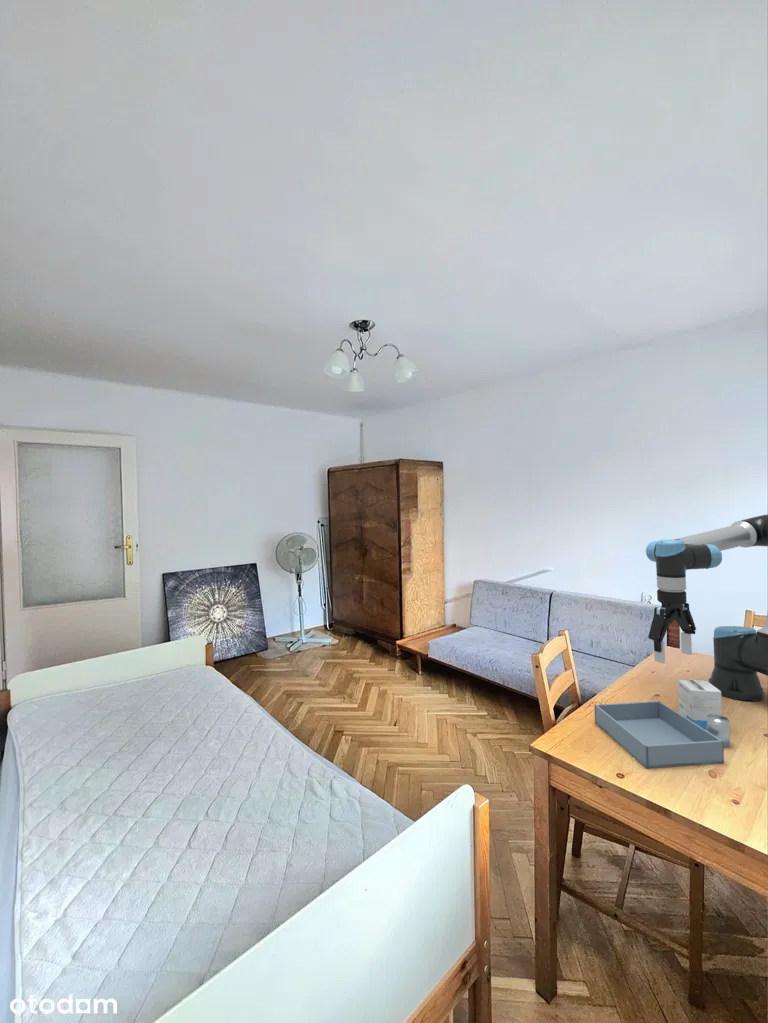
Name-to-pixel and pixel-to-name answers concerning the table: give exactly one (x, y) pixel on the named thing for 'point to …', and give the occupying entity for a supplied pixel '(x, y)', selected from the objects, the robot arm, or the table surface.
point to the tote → (658, 735)
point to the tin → (719, 728)
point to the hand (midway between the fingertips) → (673, 657)
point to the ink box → (698, 700)
